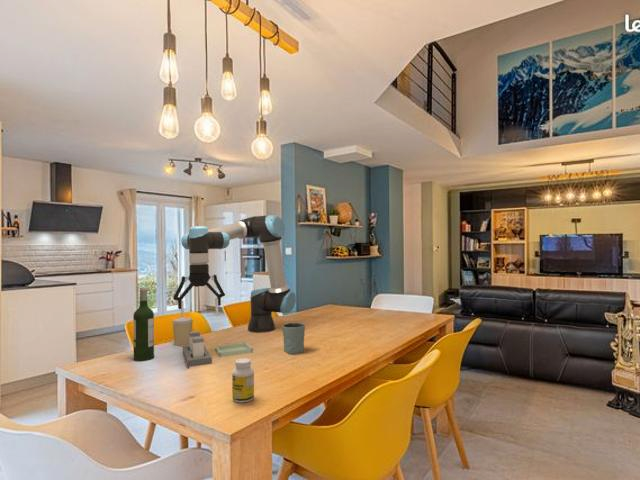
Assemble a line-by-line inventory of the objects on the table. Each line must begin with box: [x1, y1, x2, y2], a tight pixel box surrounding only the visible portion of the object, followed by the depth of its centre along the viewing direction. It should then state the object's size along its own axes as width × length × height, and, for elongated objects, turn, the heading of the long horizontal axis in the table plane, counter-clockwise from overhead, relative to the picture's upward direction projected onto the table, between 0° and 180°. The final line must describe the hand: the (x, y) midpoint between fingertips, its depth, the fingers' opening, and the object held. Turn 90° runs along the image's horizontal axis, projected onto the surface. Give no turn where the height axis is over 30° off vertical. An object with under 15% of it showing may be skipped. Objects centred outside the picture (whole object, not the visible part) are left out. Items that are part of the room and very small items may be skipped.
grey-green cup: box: [281, 322, 306, 356], centre depth 164 cm, size 10×10×12 cm
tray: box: [214, 341, 253, 358], centre depth 165 cm, size 14×12×2 cm
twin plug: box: [188, 330, 201, 350], centre depth 162 cm, size 4×4×10 cm
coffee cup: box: [172, 317, 194, 347], centre depth 181 cm, size 9×9×12 cm
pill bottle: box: [231, 357, 255, 403], centre depth 113 cm, size 6×6×12 cm
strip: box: [182, 344, 213, 369], centre depth 156 cm, size 9×24×4 cm, turn 25°
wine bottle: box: [132, 286, 155, 362], centre depth 158 cm, size 8×8×30 cm
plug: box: [192, 335, 205, 358], centre depth 151 cm, size 4×4×10 cm
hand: (199, 315), depth 153 cm, fingers open, 13 cm apart
